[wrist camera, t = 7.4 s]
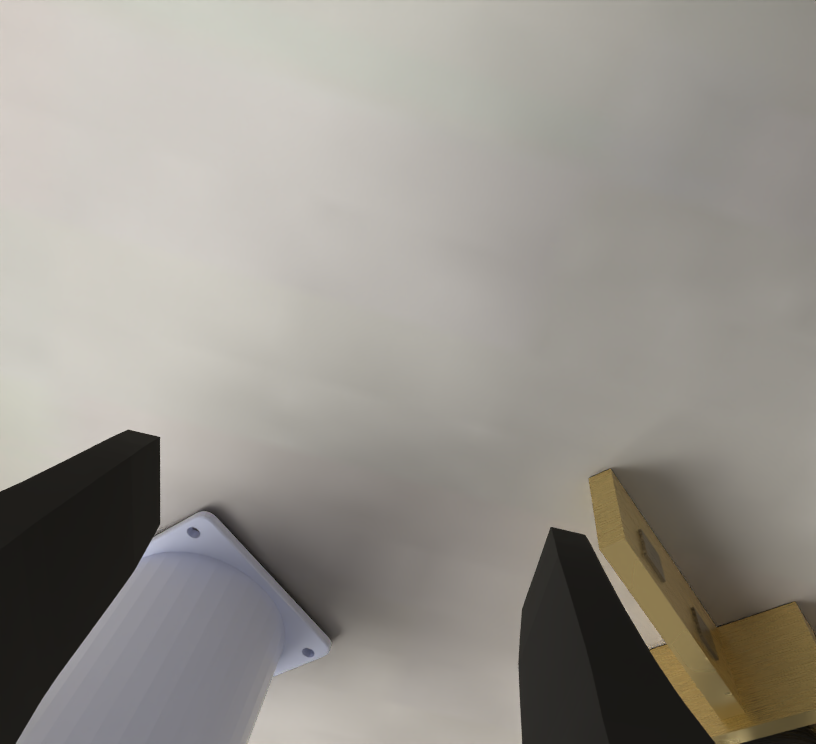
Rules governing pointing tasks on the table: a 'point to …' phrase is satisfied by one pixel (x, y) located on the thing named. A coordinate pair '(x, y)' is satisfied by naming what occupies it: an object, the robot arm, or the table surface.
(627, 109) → the table surface
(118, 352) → the table surface
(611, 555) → the gold square socket frame
